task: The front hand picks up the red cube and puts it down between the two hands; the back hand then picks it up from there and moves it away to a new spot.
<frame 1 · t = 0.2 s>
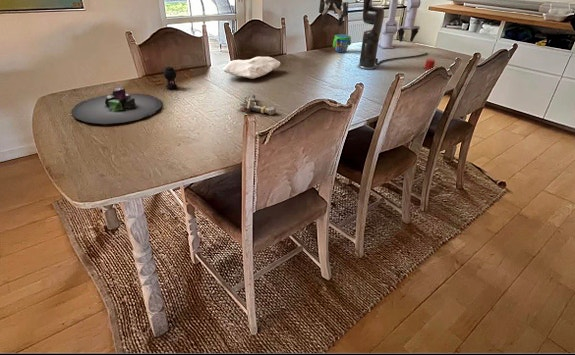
front hand: (331, 24, 172), 29 cm above the table, tool pointing down, fingers open, 8 cm apart
back hand: (405, 41, 237), 10 cm above the table, tool pointing down, fingers open, 7 cm apart
gumball machine: (171, 88, 175), on the table
dark grey serving platter: (118, 108, 152), on the table
snack cup: (341, 51, 249), on the table
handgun: (258, 107, 159), on the table
crumpled cloth: (250, 75, 198), on the table
red cube: (428, 68, 222), on the table
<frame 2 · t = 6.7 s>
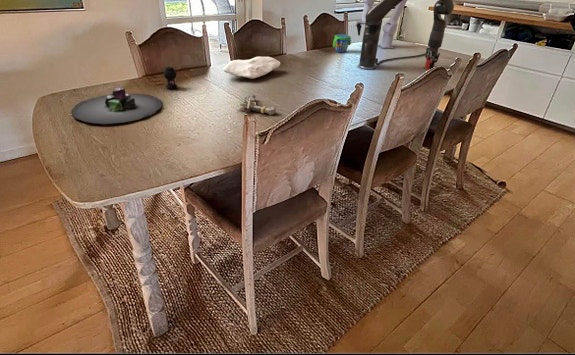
front hand: (429, 67, 221), 1 cm above the table, tool pointing down, fingers closed on red cube, 5 cm apart
back hand: (363, 35, 257), 8 cm above the table, tool pointing down, fingers open, 7 cm apart
red cube: (428, 68, 222), on the table, touching front hand
everything else where it was.
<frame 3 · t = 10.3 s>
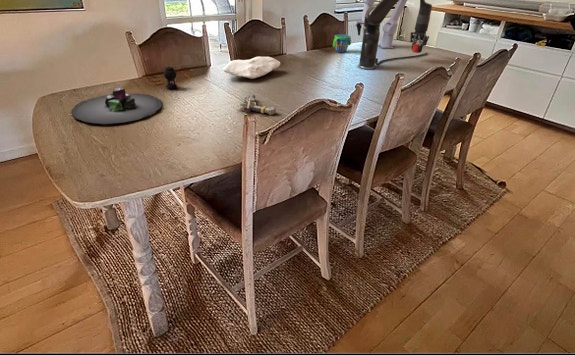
front hand: (416, 51, 231), 7 cm above the table, tool pointing down, fingers closed on red cube, 5 cm apart
back hand: (363, 35, 257), 8 cm above the table, tool pointing down, fingers open, 7 cm apart
red cube: (416, 51, 231), point 6 cm above the table, touching front hand
everything else where it was.
when the front hand's fingers open (1 cm above the table, at t = 13.9 s): red cube stays where it is, on the table.
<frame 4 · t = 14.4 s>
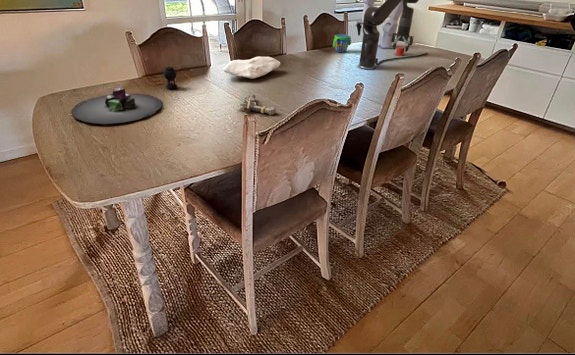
front hand: (400, 50, 246), 3 cm above the table, tool pointing down, fingers open, 8 cm apart
back hand: (363, 35, 257), 8 cm above the table, tool pointing down, fingers open, 7 cm apart
red cube: (399, 54, 247), on the table
everything else where it was.
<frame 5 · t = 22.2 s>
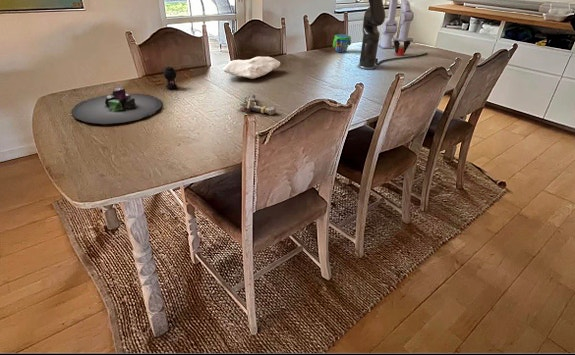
back hand: (399, 52, 247), 1 cm above the table, tool pointing down, fingers closed on red cube, 5 cm apart
red cube: (399, 54, 247), on the table, touching back hand
everything else where it was.
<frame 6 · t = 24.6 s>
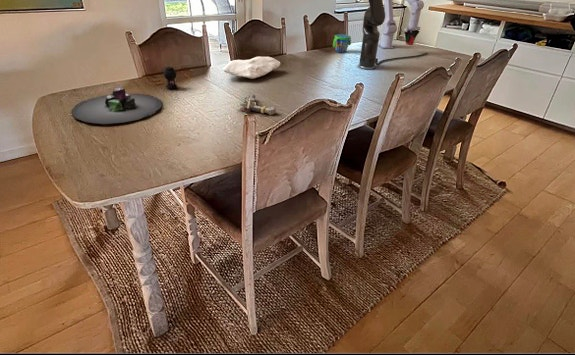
back hand: (409, 42, 249), 7 cm above the table, tool pointing down, fingers closed on red cube, 5 cm apart
red cube: (409, 44, 249), point 6 cm above the table, touching back hand
everything else where it was.
when the back hand's fingers open (2 cm above the table, at t = 27.1 s): red cube stays where it is, on the table.
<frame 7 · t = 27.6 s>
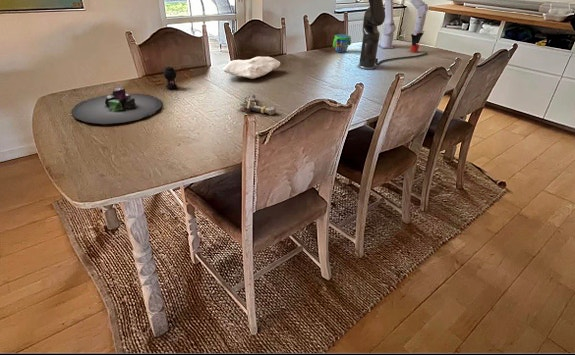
back hand: (415, 44, 254), 5 cm above the table, tool pointing down, fingers open, 7 cm apart
red cube: (413, 51, 257), on the table
everything else where it was.
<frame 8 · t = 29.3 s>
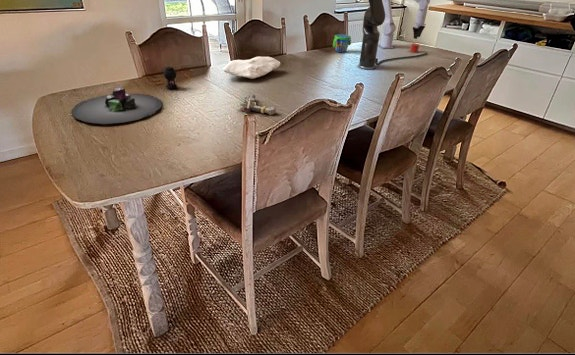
back hand: (416, 37, 252), 9 cm above the table, tool pointing down, fingers open, 7 cm apart
nothing on the table moved.
at the end: red cube inside the target area (0.1 cm from its centre), on the table; red cube tilted 0°; the two hands never held the red cube at the same time; the front hand is holding nothing; the back hand is holding nothing; red cube at rest at the end (0.0 cm/s) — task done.
